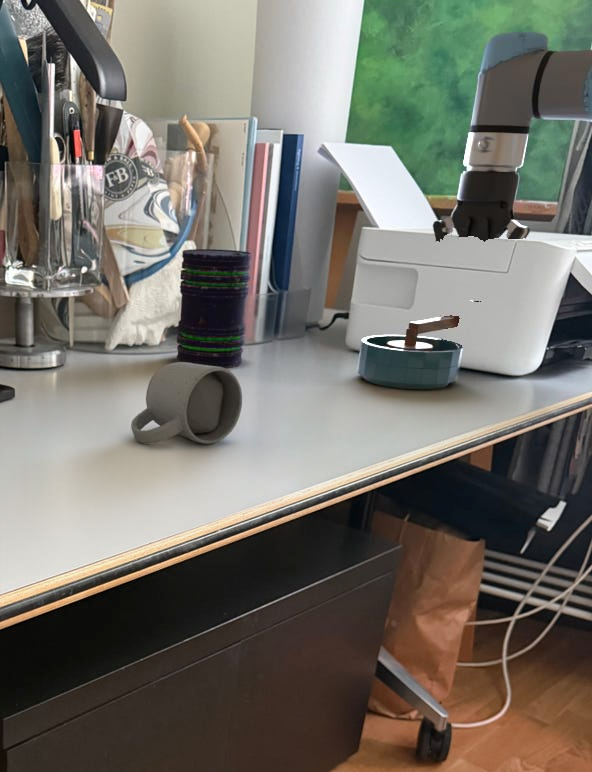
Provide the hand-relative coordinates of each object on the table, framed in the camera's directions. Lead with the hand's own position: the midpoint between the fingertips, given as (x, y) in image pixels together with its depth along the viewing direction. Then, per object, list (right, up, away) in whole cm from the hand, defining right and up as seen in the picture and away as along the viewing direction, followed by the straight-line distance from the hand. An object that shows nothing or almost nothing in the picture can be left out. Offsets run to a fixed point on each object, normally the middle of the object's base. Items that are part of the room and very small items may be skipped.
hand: (456, 349), depth 136 cm
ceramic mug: (-43, -21, -38) cm, 61 cm away
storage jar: (-36, -2, +1) cm, 36 cm away
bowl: (-10, -7, -8) cm, 14 cm away
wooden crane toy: (-6, -3, -5) cm, 8 cm away
